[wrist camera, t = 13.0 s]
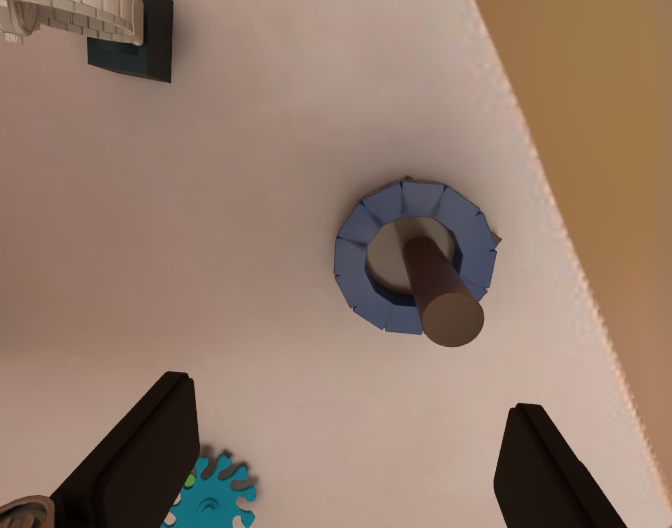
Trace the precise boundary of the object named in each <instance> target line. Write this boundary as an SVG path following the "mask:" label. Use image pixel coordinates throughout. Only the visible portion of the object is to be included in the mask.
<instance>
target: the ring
mask: <svg viewBox="0 0 672 528" xmlns="http://www.w3.org/2000/svg"><path fill="white" fill-rule="evenodd" d="M404 216H415V217H428V218H433V219H434V220H436V221H437V222H439V223H440V224H442V225H443V226H444V227H446V228H447V229H448V231H449V233H450V235H451V238H452V240H453V242H454V245H455V253H454V259H453V265H452V266H453V267H454V269H455V270H456V272H457V273H458V274H459V276H460V277H461V279H462V280H463V281H464V283H465V284H466V286H467V287H468V288H469V290H470V291H471V293H472V294H473V295H474V297H475V298H476V300H477V301H478V302H479V301H480V300H481V299H482V297H483V296H484V295H485V294H486V293H487V292H488V291H487V290H486V288H489V287H490V283H491V278H492V273H493V268H494V263H495V259H496V254H497V251H496V250H494V249H495V248H496V244H495V242H494V239H493V237H492V234H491V232H490V229H489V226H488V224H487V221H486V219H485V216H484V214H483V212H481V211H480V208H479V207H477V206H476V205H474V204H473V203H472V202H470V201H469V200H467V199H466V198H465V197H463V196H462V195H460V194H459V193H458V192H456V191H455V190H453V189H452V188H451V187H449V186H447V185H445V184H442V183H439V182H434V181H420V180H406V179H400V183H399V182H398V181H397V180H395V181H393V182H391V183H389V184H387V185H385V186H383V187H381V188H379V189H377V190H375V191H373V192H371V193H369V194H366V195H364V196H363V199H362V200H361V199H359V201H358V202H357V204H356V205H355V207H354V208H353V209H352V211H351V212H350V214H349V215H348V217H347V218H346V220H345V221H344V223H343V224H342V226H341V227H340V229H339V231H338V234H337V237H336V244H335V259H334V274H335V280H336V282H337V284H338V285H339V287H340V289H341V291H342V293H343V295H344V297H345V299H346V301H347V303H348V305H349V307H350V308H353V311H354V312H355V313H357V314H358V315H360V316H361V317H363V318H364V319H366V320H367V321H369V322H370V323H372V324H374V325H375V326H377V327H378V328H380V329H381V330H383V329H384V327H385V331H387V332H397V333H407V334H417V335H422V329H423V327H422V324H421V320H420V317H419V313H418V310H417V307H416V303H415V300H414V296H413V295H402V294H393V293H391V292H390V291H388V290H387V289H385V288H384V287H382V286H381V285H379V284H378V283H376V282H375V280H374V278H373V276H372V274H371V272H370V270H369V268H368V266H367V264H366V255H367V247H368V245H369V244H370V243H371V241H372V240H373V238H374V237H375V236H376V234H377V233H378V232H379V230H380V229H381V227H382V226H385V225H387V224H389V223H391V222H393V221H396V220H398V219H400V218H402V217H404ZM423 332H424V330H423ZM424 334H425V332H424Z"/></svg>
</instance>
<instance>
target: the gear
mask: <svg viewBox="0 0 672 528" xmlns="http://www.w3.org/2000/svg"><path fill="white" fill-rule="evenodd" d="M230 464H231V461H230V459H229V458H228V457H226V456H224V455H220V456H219V458H218V461H217V465H216V468H215V469H214V471H213V472H212V473H211V474H210V475H209V476H208V477H207V478H205V479H203V478H201V472H202V471H203V470H204V469H205V468H206V467H207V465H208V459H207V458H206V457H198V460H197V462H196V464H195V467H196V476H194V474H193V473H192V472H191V473H190V475H189V477H188V479H187V480H186V482H185V484H184V486H183V488H182V489H181V491H180V494H181V499H180V501H179V503H178V504H175V505H172V507H171V509H170V512H171V513H172V514H173V515H174V516H175V517H176V521H175V522H174V523H173V524H172V525H167V524H166V523H165V522H163V523H162V525H161V527H160V528H233V526H232V520H233V518H234V517H235V516H237V515H240V516H241V521H242V523H243V525H244V526H245V527H246V528H249V527H250V526H251V524H252V523H253V521H254V518H255V515H254V514H253V512H252V511H249V510H248V511H246V510H242V509H240V508H239V507H238V506H237V505H236V499H237V498H238V497H239V496H244V497H245V498H246V500H247V501H249V502H252V501H254V500H255V496H256V488H255V487H254V486H252V485H251V486H248V487H246V488H244V489H241V490H237V489H232V488H231V487H230V485H231V482H232V481H233V480H241V481H242V480H245V479H246V478H247V477H248V473H247V471H246V469H245V467H244V466H243V465H240V466H239V467H238V468H237V469H236V470H235V472H234V473H233V474H231V475H230V476H228V477H226V478H223V479H219V478H218V473H219V472H220V471H221V470H224V469H226V468H228V467H229V466H230Z"/></svg>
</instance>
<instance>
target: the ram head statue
mask: <svg viewBox="0 0 672 528" xmlns="http://www.w3.org/2000/svg"><path fill="white" fill-rule="evenodd" d="M53 14H54V19H53ZM71 14H72V24H71ZM38 23H39V24H38ZM65 23H66V31H67V32H71V33H75V34H80V35H84V36H87V50H88V64H90V65H93V66H96V67H100V68H103V69H106V70H109V71H112V72H116V73H120V74H125V75H130V76H136V77H141V78H146V79H152V80H157V81H162V82H168V83H171V55H172V25H173V1H172V0H0V32H1V33H5V40H6V41H8V42H11V43H15V44H19V45H24V42H23V37H21V36H29V35H31V34H32V32H33V31H37V30H40V24H42V25H46V26H49V27H52V28H56V29H60V30H64V31H65Z"/></svg>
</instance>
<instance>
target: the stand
mask: <svg viewBox="0 0 672 528" xmlns="http://www.w3.org/2000/svg"><path fill="white" fill-rule="evenodd" d="M404 179H406V180H414V179H412V178H411V177H409V176H408V175H406V176H405V178H404ZM490 232H491V231H490ZM491 234H492V237H493V239H494V242H495V244H496V246H497V245H498V244H499V243H500V241H501V240H502V239H501V238H500V237H499V236H497V235H496V234H494V233H493V232H491ZM454 253H455V245H454V242H453V240H452V238H451V235H450V233H449V231H448V229H447V228H446V227H444V226H443V225H442V224H440V223H439V222H437V221H436V220H434V219H433V218H428V217H415V216H404V217H402V218H400V219H398V220H396V221H393V222H391V223H389V224H387V225H385V226H382V227H381V229H380V230H379V232H378V233H377V234H376V236H375V237H374V238H373V240H372V241H371V243H370V244H369V245H368V247H367V255H366V264H367V266H368V268H369V270H370V272H371V274H372V276H373V278H374V280H375V282H376V283H378V284H379V285H381V286H382V287H384V288H385V289H387V290H388V291H390V292H391V293H393V294H402V295H413V296H414V300H415V303H416V307H417V310H418V313H419V317H420V320H421V324H422V327H423V330H424V332H425V334H426V335H427V336H428V338H429V339H430V340H432V341H433V342H435V343H436V344H439V345H441V346H445V347H458V346H462V345H465V344H467V343H469V342H471V341H472V340H473V339H475V338H476V337H477V336H478V334H479V333H480V331H481V329H482V327H483V324H484V313H483V309H482V307H481V305H480V304H479V302H478V301H477V300H476V298H475V297H474V295H473V294H472V293H471V291H470V290H469V288H468V287H467V286H466V284H465V283H464V281H463V280H462V279H461V277H460V276H459V274H458V273H457V272H456V270H455V269H454V267H453V266H452V265H453V259H454Z"/></svg>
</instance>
